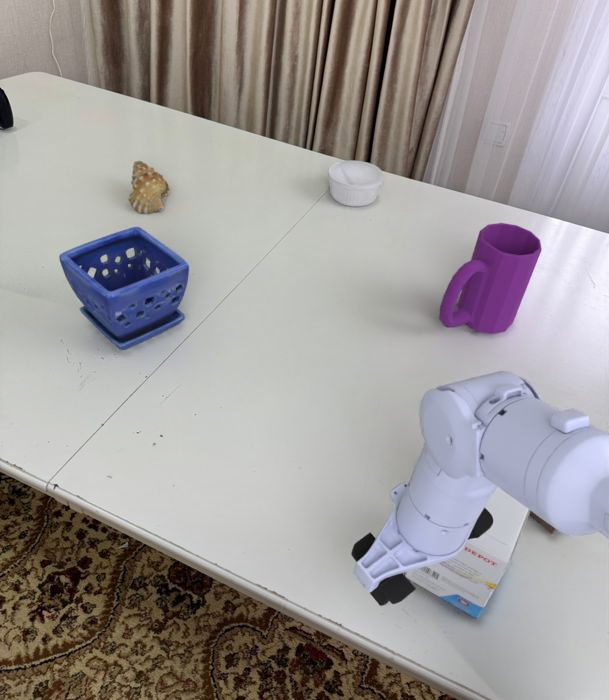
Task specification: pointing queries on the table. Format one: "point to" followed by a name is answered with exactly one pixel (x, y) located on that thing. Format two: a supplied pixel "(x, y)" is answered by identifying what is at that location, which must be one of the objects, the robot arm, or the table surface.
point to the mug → (492, 280)
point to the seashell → (147, 189)
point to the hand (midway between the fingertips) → (406, 570)
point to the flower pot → (128, 285)
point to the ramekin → (355, 182)
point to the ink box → (477, 559)
